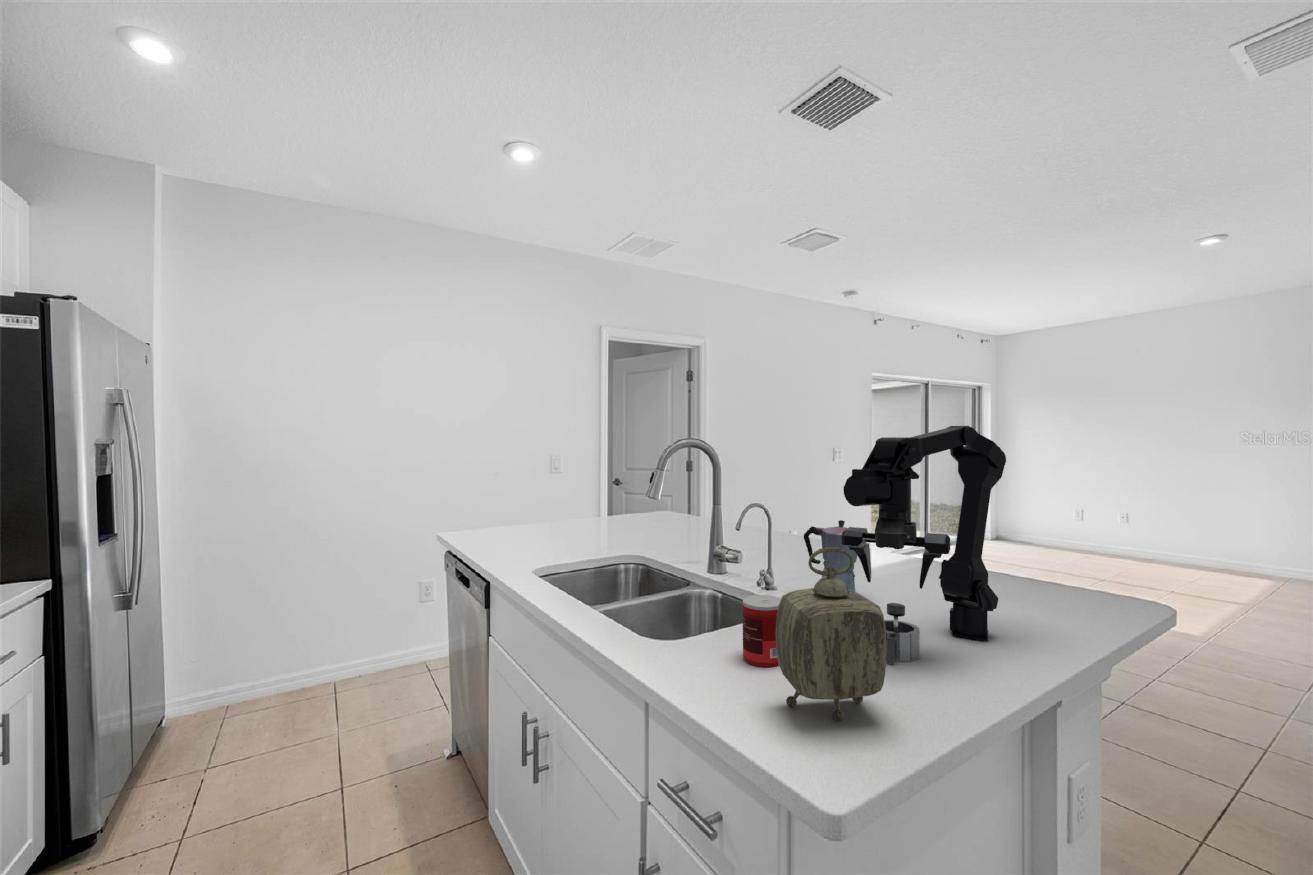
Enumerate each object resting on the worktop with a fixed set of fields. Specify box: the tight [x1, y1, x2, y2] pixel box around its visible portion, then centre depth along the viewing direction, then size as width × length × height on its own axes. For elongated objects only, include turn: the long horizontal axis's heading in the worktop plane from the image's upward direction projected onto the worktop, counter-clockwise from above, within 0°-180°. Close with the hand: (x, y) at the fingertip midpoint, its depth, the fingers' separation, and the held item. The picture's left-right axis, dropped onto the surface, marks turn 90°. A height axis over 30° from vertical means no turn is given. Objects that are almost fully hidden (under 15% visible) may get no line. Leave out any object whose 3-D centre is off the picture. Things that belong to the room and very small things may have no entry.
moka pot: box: [803, 519, 858, 592], centre depth 146 cm, size 10×15×20 cm, turn 78°
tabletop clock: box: [776, 547, 887, 722], centre depth 87 cm, size 14×9×25 cm, turn 97°
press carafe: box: [884, 619, 921, 666], centre depth 110 cm, size 8×11×5 cm
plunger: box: [886, 602, 906, 633], centre depth 111 cm, size 5×5×8 cm
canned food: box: [742, 594, 782, 668], centre depth 108 cm, size 8×8×11 cm
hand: (894, 585), depth 111 cm, fingers open, 9 cm apart
